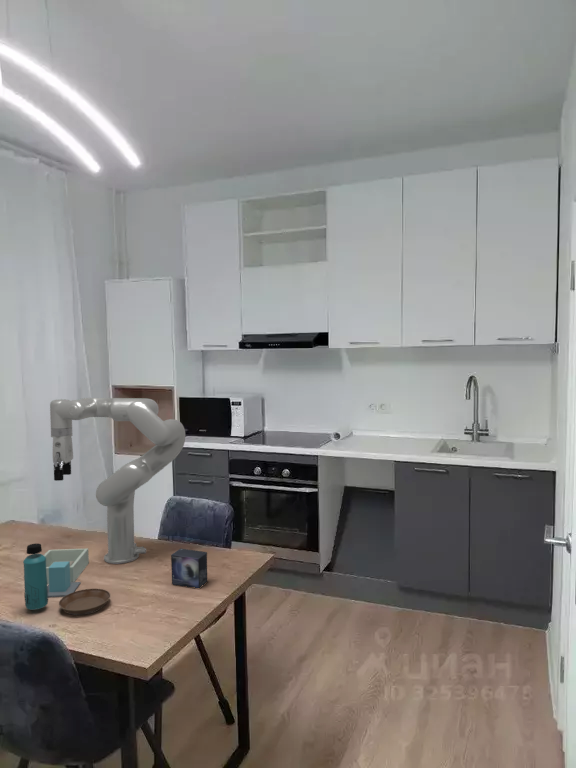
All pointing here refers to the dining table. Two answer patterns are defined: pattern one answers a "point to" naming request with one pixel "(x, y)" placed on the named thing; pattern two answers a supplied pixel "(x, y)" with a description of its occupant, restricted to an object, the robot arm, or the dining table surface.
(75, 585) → the mat
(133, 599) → the dining table surface
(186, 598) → the dining table surface
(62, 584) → the block
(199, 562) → the small box
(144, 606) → the dining table surface
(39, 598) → the beverage bottle
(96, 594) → the saucer
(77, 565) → the frame
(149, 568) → the dining table surface
